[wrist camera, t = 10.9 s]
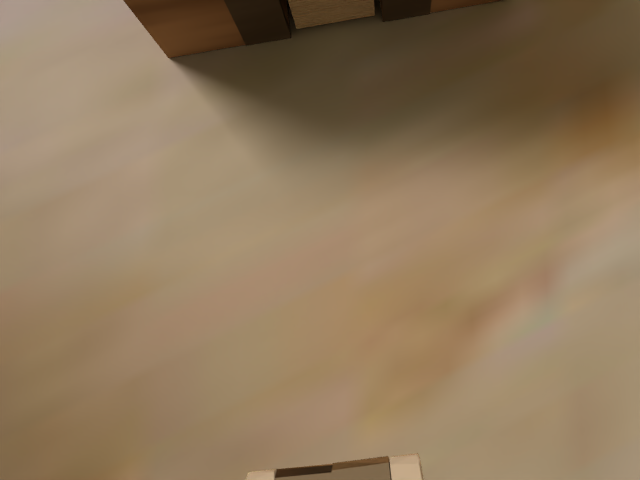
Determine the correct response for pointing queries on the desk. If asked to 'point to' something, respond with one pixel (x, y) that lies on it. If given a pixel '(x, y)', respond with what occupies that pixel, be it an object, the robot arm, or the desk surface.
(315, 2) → the elongated beige block
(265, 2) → the housing
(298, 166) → the desk surface
